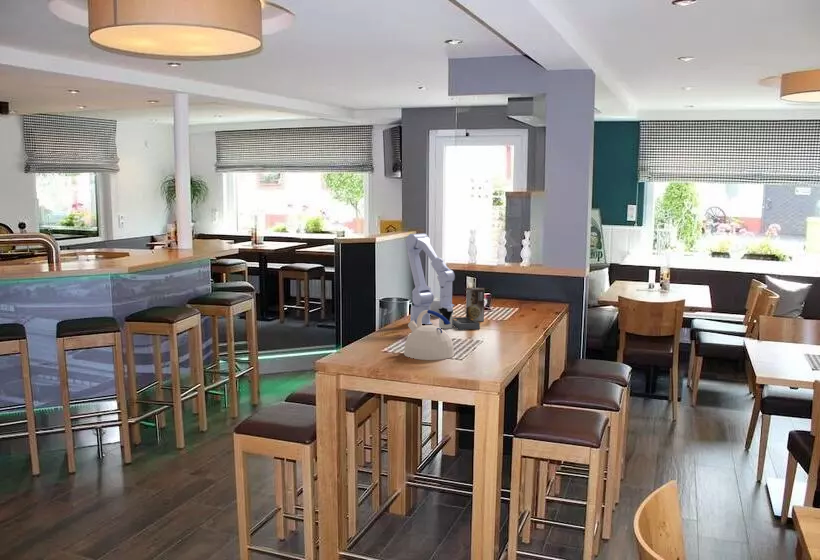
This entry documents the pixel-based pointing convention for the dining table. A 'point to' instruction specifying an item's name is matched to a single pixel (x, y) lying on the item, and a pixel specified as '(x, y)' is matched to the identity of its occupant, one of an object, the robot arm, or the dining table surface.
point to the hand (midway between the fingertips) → (445, 323)
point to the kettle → (428, 340)
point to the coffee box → (475, 303)
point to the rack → (465, 323)
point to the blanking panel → (441, 323)
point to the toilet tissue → (436, 306)
